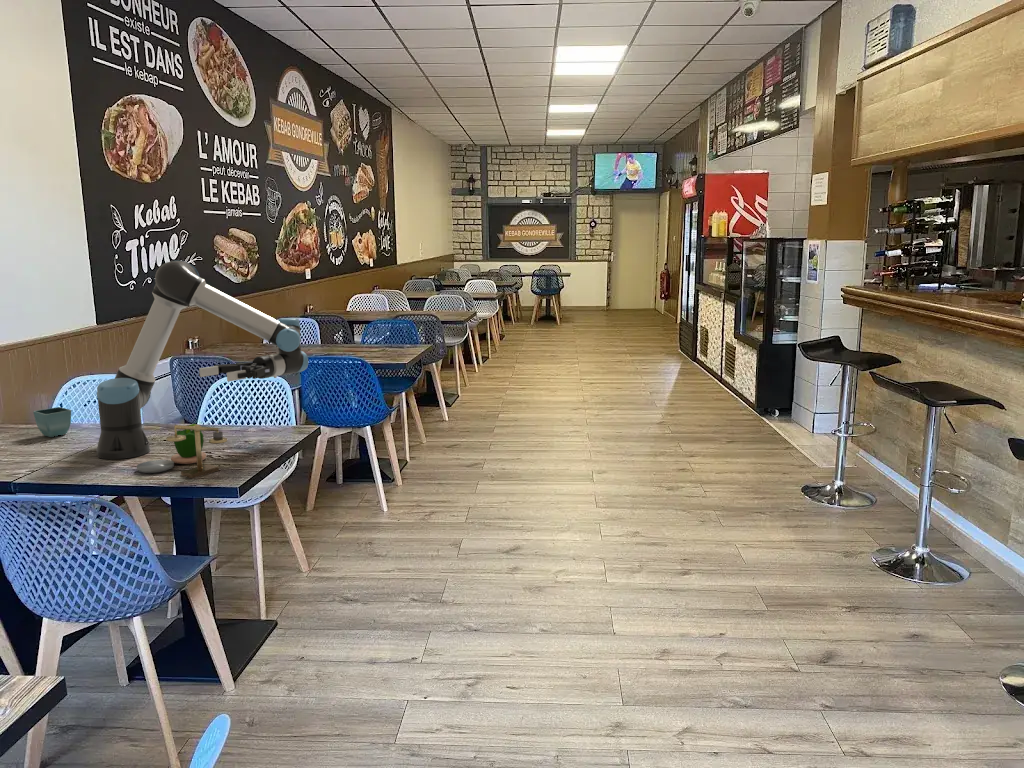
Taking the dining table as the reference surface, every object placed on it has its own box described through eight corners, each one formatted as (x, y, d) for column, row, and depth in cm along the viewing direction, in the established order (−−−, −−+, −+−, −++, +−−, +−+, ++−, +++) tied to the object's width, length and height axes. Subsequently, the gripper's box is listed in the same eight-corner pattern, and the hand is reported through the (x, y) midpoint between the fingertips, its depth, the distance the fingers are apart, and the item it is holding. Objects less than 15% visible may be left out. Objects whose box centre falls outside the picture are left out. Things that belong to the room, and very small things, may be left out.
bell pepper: (170, 459, 226) (167, 427, 224) (182, 452, 234) (179, 421, 232) (197, 459, 226) (195, 427, 224) (208, 452, 234) (206, 421, 232)
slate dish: (130, 471, 220) (129, 465, 219) (161, 462, 228) (161, 457, 228) (150, 476, 214) (149, 471, 214) (181, 468, 223) (181, 463, 222)
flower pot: (74, 434, 262) (72, 409, 260) (48, 439, 254) (45, 414, 253) (61, 431, 266) (59, 406, 265) (35, 436, 259) (32, 411, 257)
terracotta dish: (164, 462, 229) (164, 457, 228) (193, 454, 237) (192, 449, 237) (184, 467, 224) (184, 462, 223) (213, 459, 232) (212, 454, 232)
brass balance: (166, 479, 212) (161, 425, 209) (221, 464, 227) (218, 413, 224) (176, 482, 209) (172, 428, 206) (232, 466, 224) (229, 415, 222)
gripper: (293, 381, 247) (240, 390, 229) (244, 373, 260) (190, 382, 242) (293, 358, 245) (239, 366, 227) (243, 352, 258) (188, 359, 240)
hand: (213, 374), depth 235 cm, fingers open, 13 cm apart
